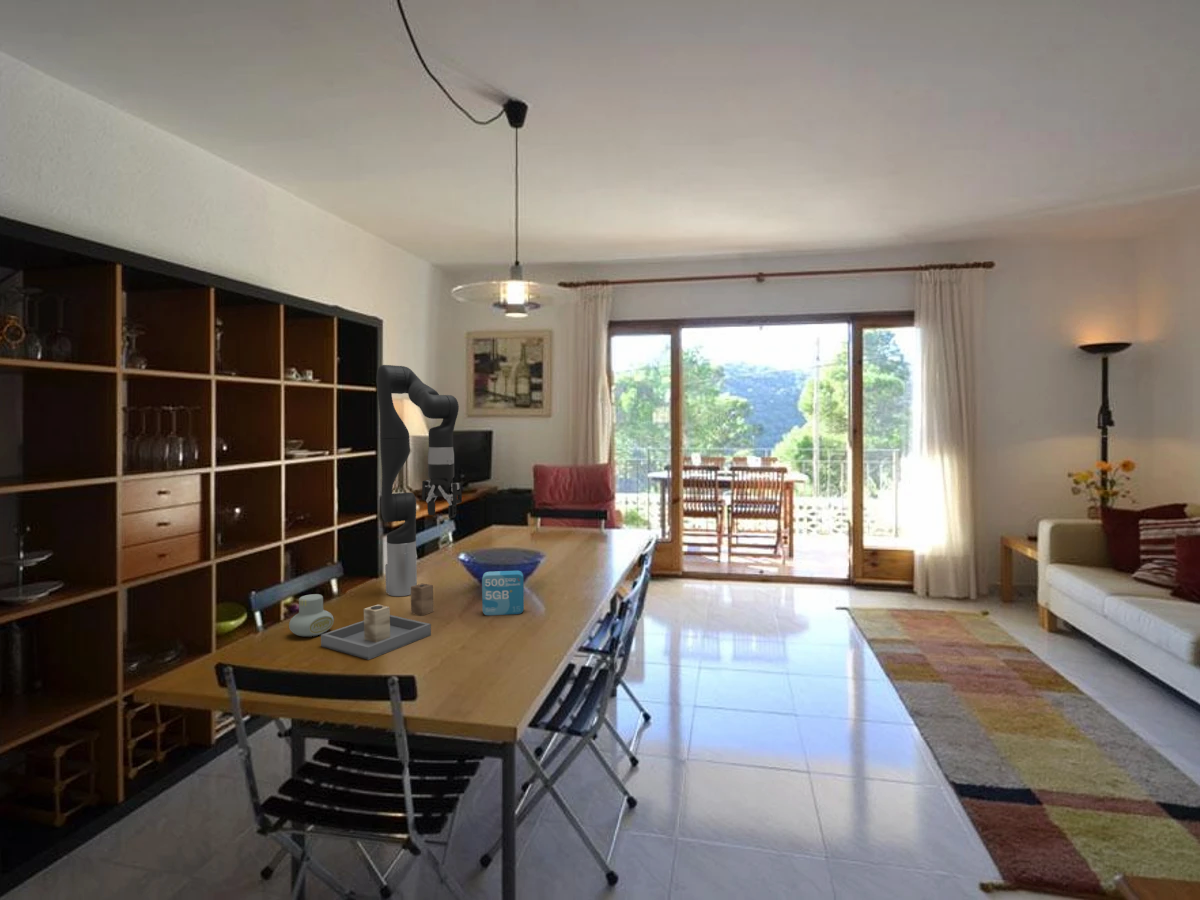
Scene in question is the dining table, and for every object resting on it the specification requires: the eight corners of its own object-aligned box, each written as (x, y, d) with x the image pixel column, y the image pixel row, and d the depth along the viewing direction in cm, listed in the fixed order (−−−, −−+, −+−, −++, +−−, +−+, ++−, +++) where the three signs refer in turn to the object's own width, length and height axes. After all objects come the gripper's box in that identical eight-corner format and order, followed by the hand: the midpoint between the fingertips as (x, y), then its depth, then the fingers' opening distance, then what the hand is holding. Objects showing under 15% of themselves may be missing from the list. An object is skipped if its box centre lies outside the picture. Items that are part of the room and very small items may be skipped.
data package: (482, 616, 183) (481, 575, 183) (483, 611, 188) (482, 571, 187) (523, 614, 185) (523, 573, 185) (523, 609, 190) (523, 570, 189)
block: (364, 639, 162) (363, 608, 162) (378, 634, 166) (378, 603, 166) (376, 642, 160) (375, 610, 160) (390, 637, 164) (389, 606, 164)
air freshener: (302, 642, 162) (301, 604, 162) (283, 637, 167) (282, 599, 166) (339, 630, 172) (338, 594, 171) (320, 625, 176) (319, 590, 176)
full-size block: (411, 613, 186) (410, 586, 186) (422, 609, 190) (422, 582, 190) (422, 615, 184) (421, 588, 184) (433, 611, 188) (432, 584, 187)
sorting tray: (321, 646, 159) (320, 634, 159) (384, 624, 176) (384, 613, 176) (368, 659, 150) (368, 647, 150) (430, 635, 167) (430, 624, 167)
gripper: (414, 462, 187) (415, 515, 188) (449, 464, 180) (449, 520, 181) (433, 460, 194) (434, 512, 195) (467, 462, 186) (468, 516, 187)
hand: (441, 516), depth 188 cm, fingers open, 8 cm apart
